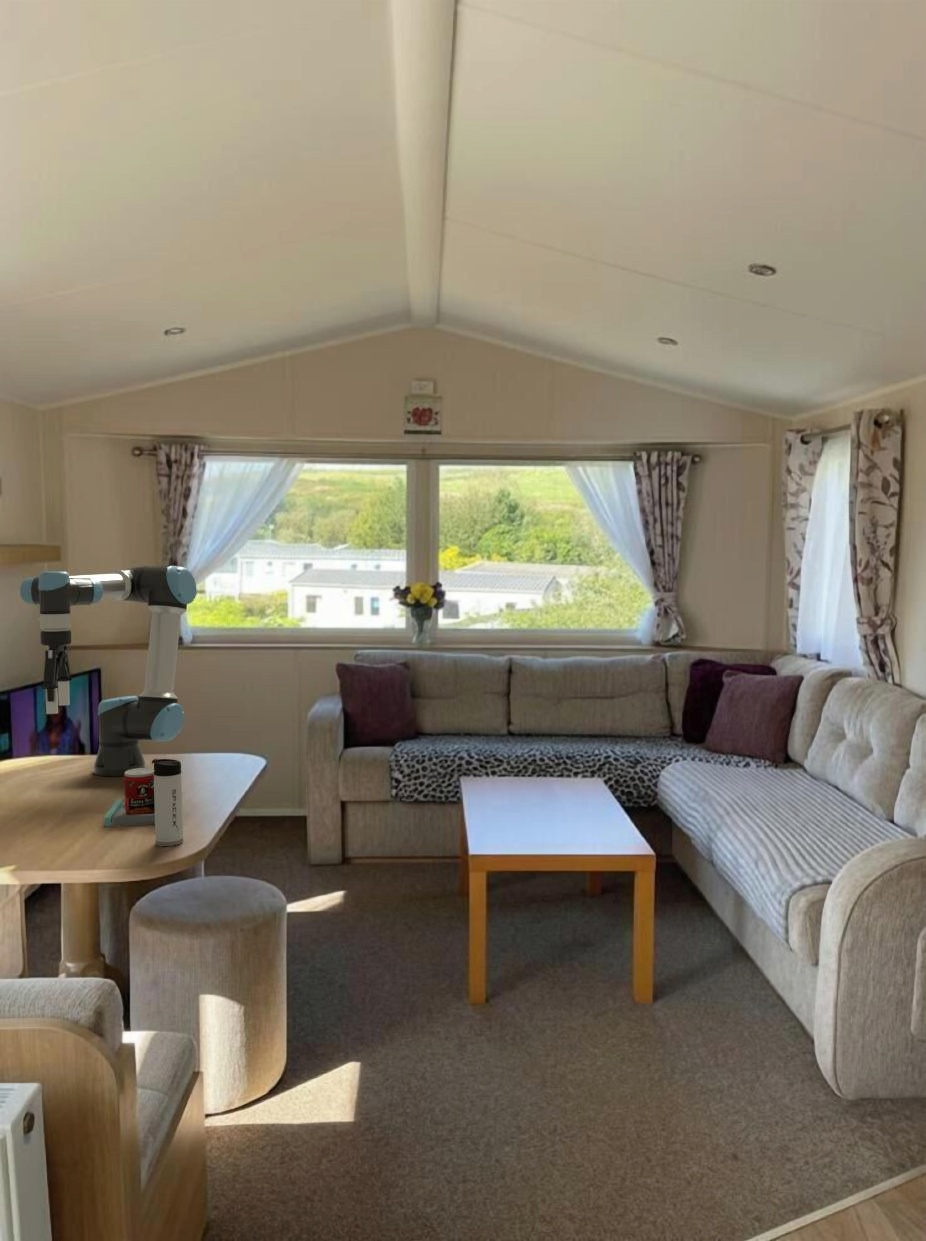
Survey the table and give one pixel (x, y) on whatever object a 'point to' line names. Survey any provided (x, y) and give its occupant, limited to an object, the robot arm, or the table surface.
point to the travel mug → (168, 802)
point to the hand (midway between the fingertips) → (58, 709)
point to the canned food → (139, 791)
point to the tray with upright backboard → (126, 816)
